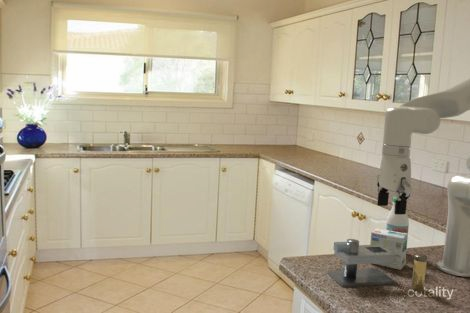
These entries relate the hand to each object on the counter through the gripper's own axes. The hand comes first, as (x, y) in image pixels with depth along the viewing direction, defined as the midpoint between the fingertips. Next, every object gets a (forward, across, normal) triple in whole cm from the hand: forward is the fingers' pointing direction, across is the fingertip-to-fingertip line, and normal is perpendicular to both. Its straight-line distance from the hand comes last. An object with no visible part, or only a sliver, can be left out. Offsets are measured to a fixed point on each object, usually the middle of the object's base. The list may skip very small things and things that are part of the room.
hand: (390, 209), depth 140 cm
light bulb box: (+23, +16, -10) cm, 29 cm away
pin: (+23, -4, -8) cm, 24 cm away
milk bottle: (+23, +26, -18) cm, 39 cm away
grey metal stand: (+23, +4, +6) cm, 24 cm away
